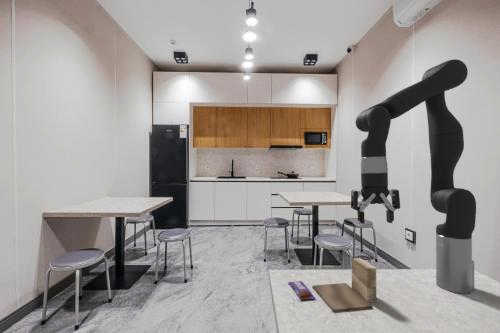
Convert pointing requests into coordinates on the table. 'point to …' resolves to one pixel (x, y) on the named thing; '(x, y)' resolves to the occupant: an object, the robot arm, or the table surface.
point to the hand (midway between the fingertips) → (375, 222)
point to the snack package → (301, 290)
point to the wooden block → (364, 279)
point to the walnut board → (341, 297)
